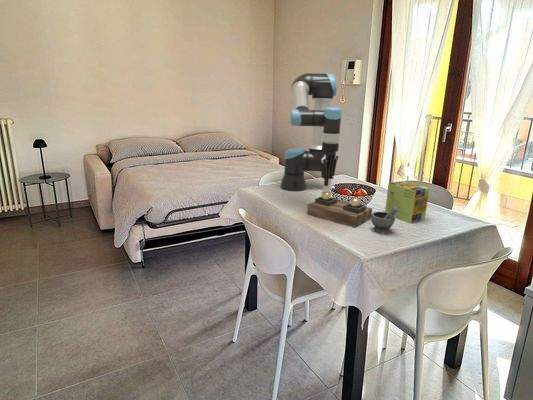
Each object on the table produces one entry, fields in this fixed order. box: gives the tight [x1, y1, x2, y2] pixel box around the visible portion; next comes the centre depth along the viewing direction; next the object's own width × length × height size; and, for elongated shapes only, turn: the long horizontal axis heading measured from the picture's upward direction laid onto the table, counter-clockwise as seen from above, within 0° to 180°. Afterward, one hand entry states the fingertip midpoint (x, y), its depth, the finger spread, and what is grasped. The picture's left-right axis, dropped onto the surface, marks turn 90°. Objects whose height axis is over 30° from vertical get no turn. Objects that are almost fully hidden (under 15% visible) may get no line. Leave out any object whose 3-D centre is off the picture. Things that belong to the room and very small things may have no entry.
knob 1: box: [321, 190, 332, 201], centre depth 180 cm, size 4×4×5 cm
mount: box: [306, 195, 373, 228], centre depth 177 cm, size 16×25×7 cm, turn 50°
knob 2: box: [349, 197, 361, 209], centre depth 171 cm, size 4×4×5 cm
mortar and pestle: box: [370, 206, 399, 234], centre depth 160 cm, size 11×9×12 cm
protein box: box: [384, 180, 431, 224], centre depth 178 cm, size 10×15×16 cm
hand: (326, 192), depth 179 cm, fingers closed
